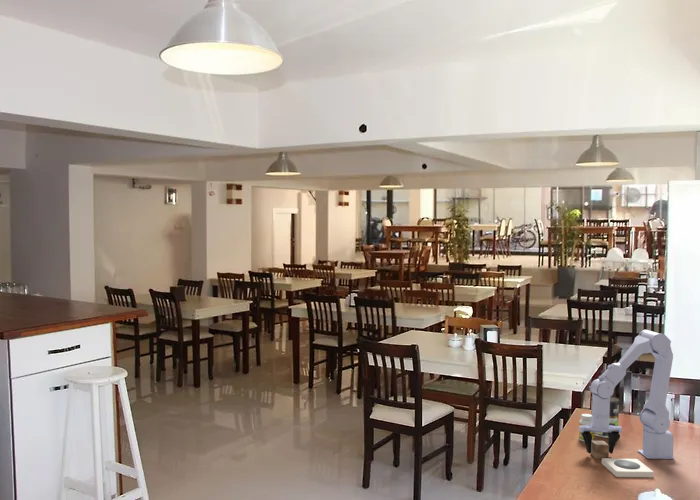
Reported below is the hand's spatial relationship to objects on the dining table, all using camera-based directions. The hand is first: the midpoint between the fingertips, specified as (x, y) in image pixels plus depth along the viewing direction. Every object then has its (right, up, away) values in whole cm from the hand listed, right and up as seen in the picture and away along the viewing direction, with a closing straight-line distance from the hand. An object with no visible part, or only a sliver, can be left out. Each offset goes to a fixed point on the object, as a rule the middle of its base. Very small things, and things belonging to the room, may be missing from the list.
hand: (599, 452), depth 228 cm
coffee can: (+12, -1, +26) cm, 29 cm away
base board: (+4, -2, -13) cm, 14 cm away
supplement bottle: (+2, -1, +18) cm, 18 cm away
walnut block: (0, -2, 0) cm, 2 cm away
